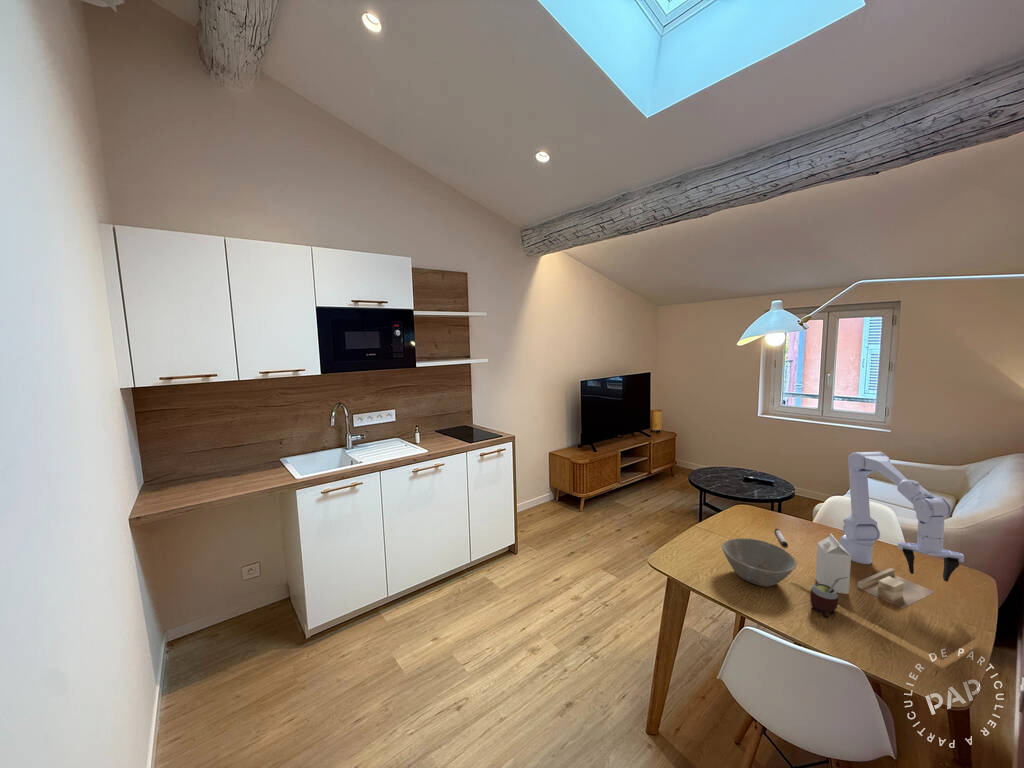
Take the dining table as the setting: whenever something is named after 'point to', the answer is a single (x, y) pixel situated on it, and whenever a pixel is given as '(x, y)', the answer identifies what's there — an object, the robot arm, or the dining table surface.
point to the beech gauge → (890, 588)
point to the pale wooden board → (910, 590)
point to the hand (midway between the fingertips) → (928, 576)
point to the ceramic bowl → (758, 561)
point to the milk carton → (833, 564)
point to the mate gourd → (824, 598)
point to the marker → (781, 537)
